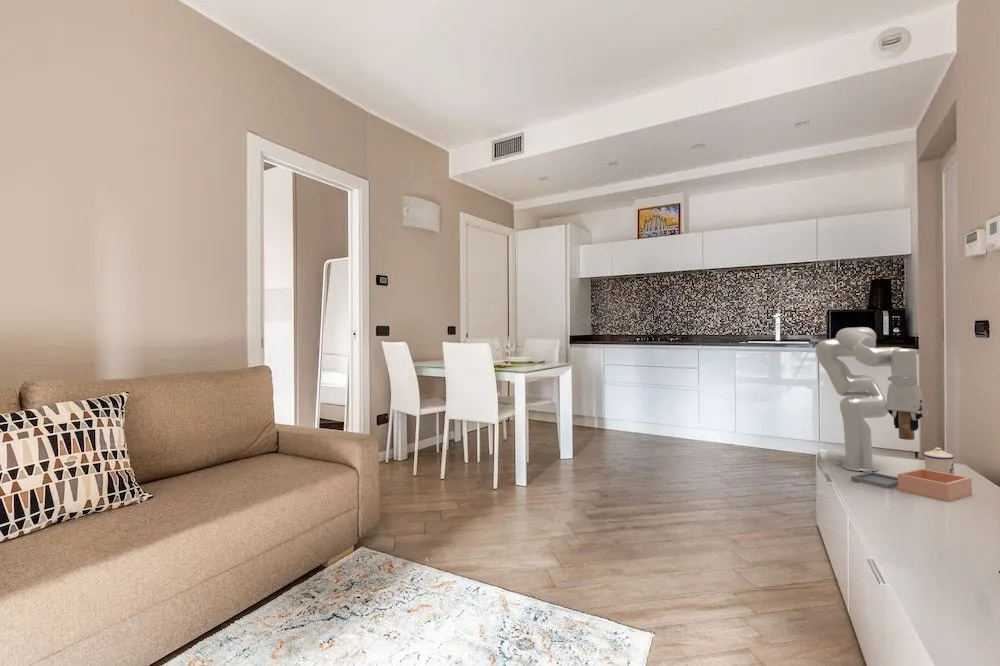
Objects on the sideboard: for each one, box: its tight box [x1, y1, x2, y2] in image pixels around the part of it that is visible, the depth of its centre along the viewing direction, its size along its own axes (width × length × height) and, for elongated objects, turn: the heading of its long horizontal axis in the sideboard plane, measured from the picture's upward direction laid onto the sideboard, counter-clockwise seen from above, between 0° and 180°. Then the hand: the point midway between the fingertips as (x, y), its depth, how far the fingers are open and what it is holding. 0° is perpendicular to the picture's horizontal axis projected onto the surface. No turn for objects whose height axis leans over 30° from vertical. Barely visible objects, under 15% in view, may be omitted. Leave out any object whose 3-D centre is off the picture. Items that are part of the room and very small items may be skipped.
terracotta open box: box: [897, 468, 973, 503], centre depth 175 cm, size 15×15×6 cm
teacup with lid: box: [923, 447, 955, 475], centre depth 196 cm, size 12×9×12 cm
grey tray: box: [850, 471, 898, 489], centre depth 190 cm, size 13×13×2 cm
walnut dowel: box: [898, 411, 915, 441], centre depth 182 cm, size 4×4×11 cm
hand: (906, 428), depth 182 cm, fingers closed on walnut dowel, 4 cm apart
